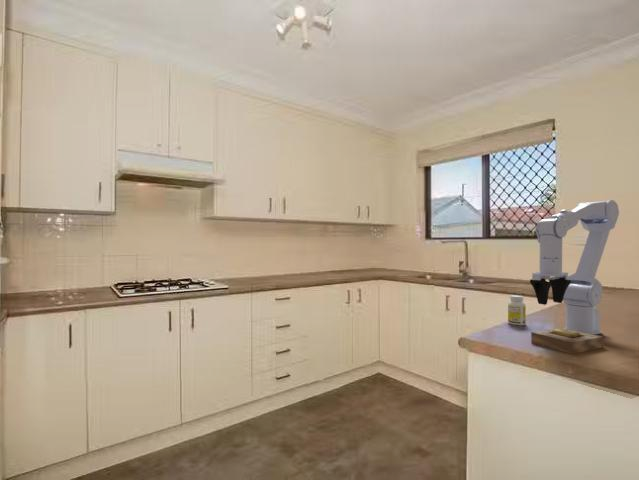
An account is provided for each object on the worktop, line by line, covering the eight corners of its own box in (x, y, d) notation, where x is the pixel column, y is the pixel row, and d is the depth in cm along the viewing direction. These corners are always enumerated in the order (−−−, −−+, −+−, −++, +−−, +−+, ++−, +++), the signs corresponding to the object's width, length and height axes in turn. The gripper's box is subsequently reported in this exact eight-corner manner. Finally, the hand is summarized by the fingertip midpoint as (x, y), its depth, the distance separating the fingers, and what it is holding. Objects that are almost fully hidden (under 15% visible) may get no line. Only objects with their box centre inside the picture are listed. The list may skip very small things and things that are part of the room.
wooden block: (562, 342, 103) (562, 328, 103) (579, 346, 99) (579, 332, 99) (552, 344, 101) (552, 330, 101) (569, 348, 97) (569, 333, 97)
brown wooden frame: (561, 337, 108) (561, 327, 108) (603, 347, 98) (603, 336, 98) (531, 342, 102) (531, 332, 102) (572, 354, 92) (572, 342, 92)
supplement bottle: (519, 322, 128) (519, 294, 128) (528, 325, 123) (529, 297, 123) (504, 322, 128) (505, 294, 128) (513, 325, 122) (513, 297, 122)
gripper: (551, 257, 114) (551, 299, 114) (522, 257, 108) (522, 302, 108) (575, 258, 108) (574, 303, 108) (546, 259, 102) (545, 306, 102)
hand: (550, 303), depth 108 cm, fingers open, 7 cm apart
